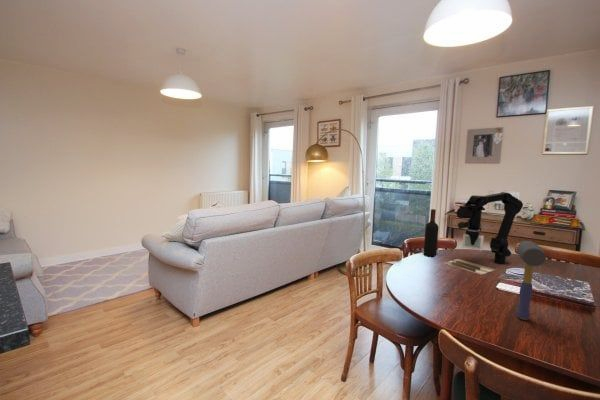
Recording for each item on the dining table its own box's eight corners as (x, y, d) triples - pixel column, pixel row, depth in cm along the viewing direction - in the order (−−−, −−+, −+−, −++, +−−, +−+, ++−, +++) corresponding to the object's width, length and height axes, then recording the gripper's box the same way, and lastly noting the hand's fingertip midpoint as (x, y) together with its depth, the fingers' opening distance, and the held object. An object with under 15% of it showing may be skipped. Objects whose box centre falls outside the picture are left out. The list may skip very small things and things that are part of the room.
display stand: (458, 260, 181) (458, 256, 181) (495, 271, 164) (495, 266, 163) (443, 264, 173) (444, 260, 173) (480, 276, 156) (481, 272, 155)
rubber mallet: (538, 329, 107) (549, 249, 103) (513, 323, 110) (522, 246, 106) (531, 313, 118) (540, 240, 114) (508, 309, 121) (516, 238, 117)
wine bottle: (420, 254, 191) (424, 208, 187) (429, 253, 195) (432, 208, 191) (430, 258, 185) (434, 210, 181) (439, 256, 188) (442, 210, 184)
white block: (462, 247, 172) (463, 234, 171) (462, 246, 174) (464, 233, 173) (482, 250, 166) (483, 236, 165) (482, 249, 168) (484, 235, 167)
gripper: (461, 213, 180) (459, 238, 182) (456, 218, 165) (454, 245, 167) (483, 216, 173) (480, 241, 175) (479, 221, 158) (477, 249, 160)
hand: (472, 244), depth 170 cm, fingers closed on white block, 3 cm apart
